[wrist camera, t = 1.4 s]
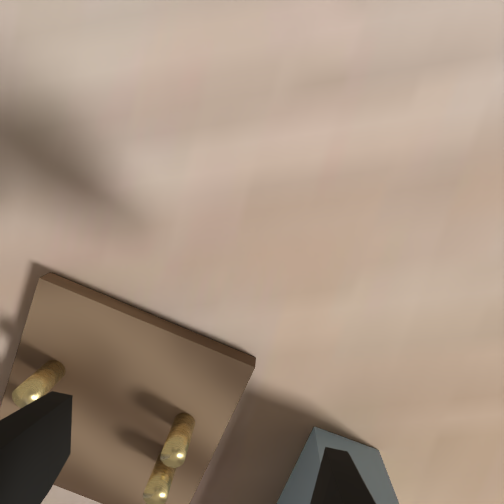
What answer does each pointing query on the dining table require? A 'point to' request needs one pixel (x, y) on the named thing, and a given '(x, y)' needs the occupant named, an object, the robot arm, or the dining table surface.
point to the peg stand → (126, 393)
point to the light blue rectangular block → (307, 467)
